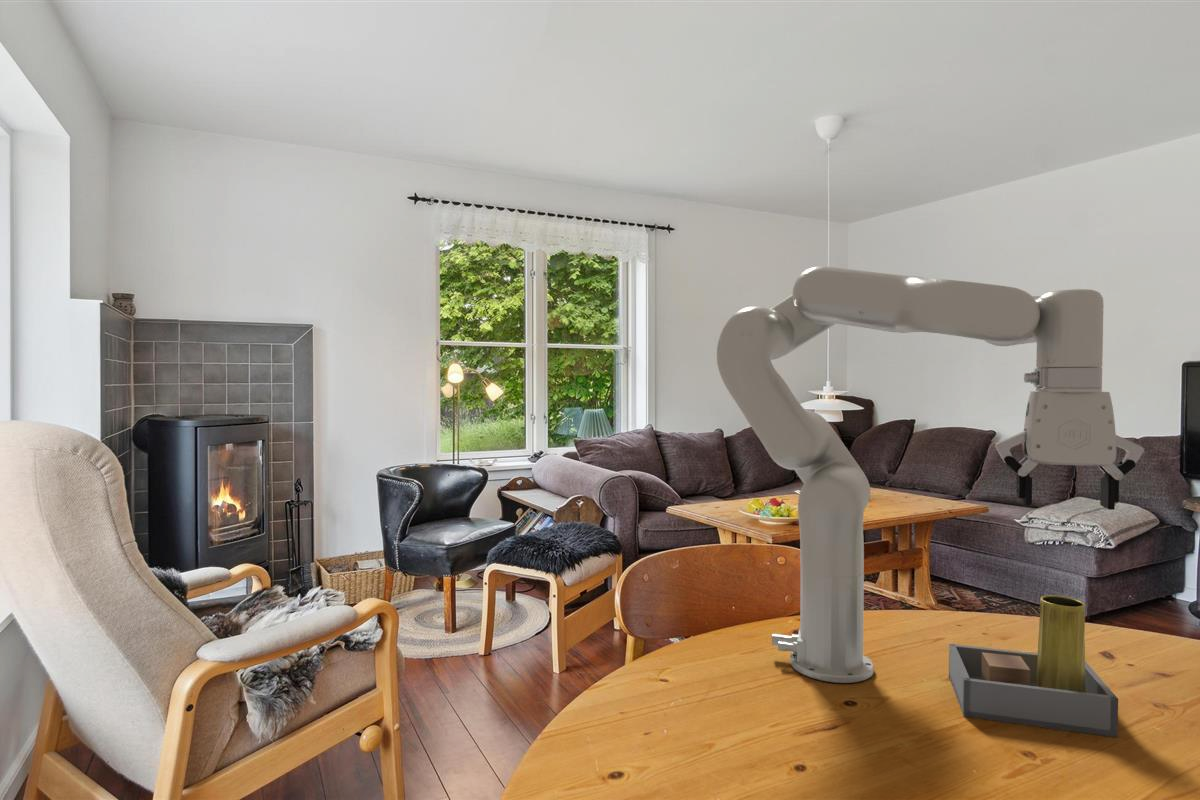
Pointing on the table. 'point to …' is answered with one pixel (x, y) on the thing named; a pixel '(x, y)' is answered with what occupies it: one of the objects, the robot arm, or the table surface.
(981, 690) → the tote
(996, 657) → the walnut cube
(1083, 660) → the vase
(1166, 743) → the table surface
